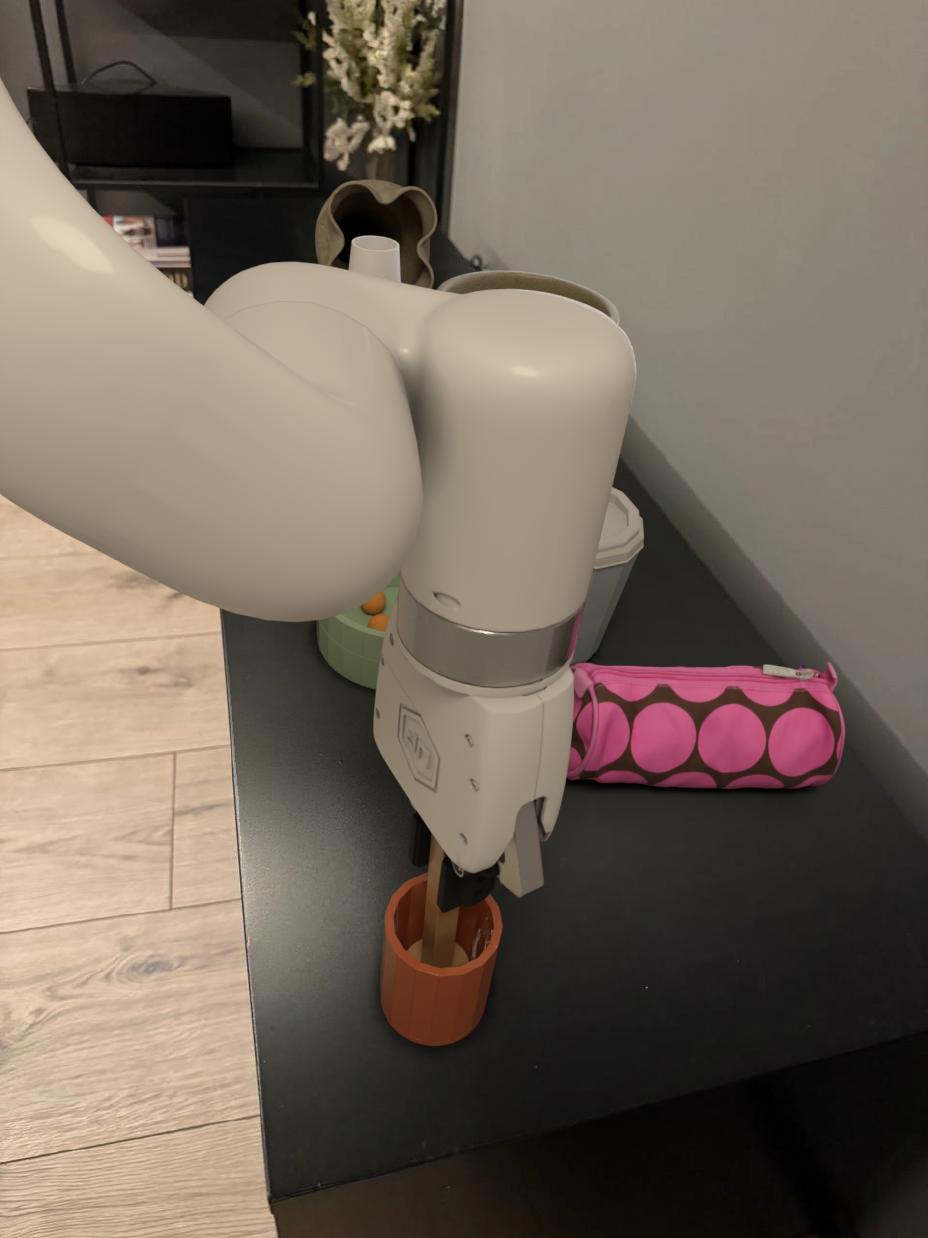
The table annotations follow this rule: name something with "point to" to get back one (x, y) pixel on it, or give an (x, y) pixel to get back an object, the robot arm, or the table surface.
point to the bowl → (355, 641)
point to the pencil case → (706, 726)
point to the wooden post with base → (438, 922)
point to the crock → (436, 969)
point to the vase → (378, 225)
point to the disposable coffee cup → (609, 572)
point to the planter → (529, 287)
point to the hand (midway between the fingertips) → (450, 874)
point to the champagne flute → (375, 257)
